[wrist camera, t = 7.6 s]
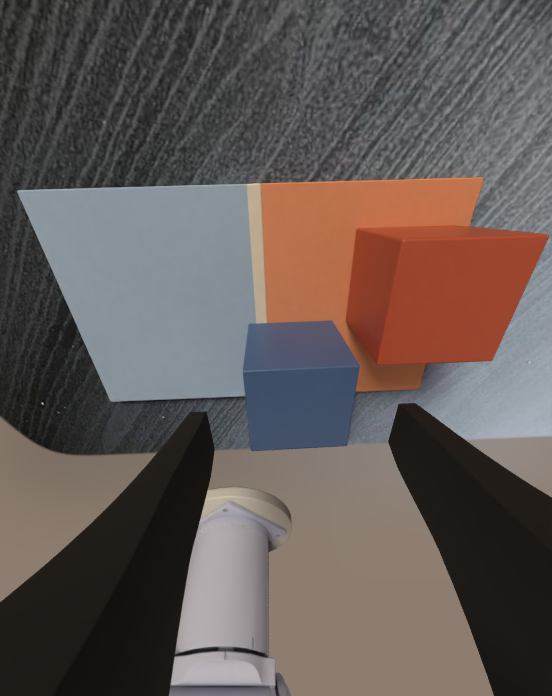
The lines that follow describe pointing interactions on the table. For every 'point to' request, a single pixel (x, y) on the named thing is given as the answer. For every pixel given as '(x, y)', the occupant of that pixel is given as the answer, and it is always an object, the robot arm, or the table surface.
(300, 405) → the slate blue block
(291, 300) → the mat
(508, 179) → the table surface
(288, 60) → the table surface
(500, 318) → the terracotta block
